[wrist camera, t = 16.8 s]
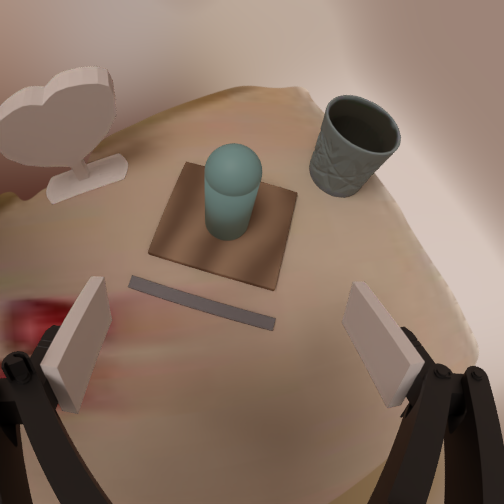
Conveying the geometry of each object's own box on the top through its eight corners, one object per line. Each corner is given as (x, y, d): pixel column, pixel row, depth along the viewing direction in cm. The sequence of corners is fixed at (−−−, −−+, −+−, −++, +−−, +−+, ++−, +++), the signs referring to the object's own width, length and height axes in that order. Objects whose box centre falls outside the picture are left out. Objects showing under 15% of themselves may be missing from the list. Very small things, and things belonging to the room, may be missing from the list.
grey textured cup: (375, 191, 46) (414, 146, 35) (324, 211, 43) (358, 162, 32) (341, 142, 48) (369, 91, 37) (290, 156, 46) (311, 99, 35)
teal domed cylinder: (199, 233, 39) (195, 171, 26) (212, 196, 41) (215, 126, 28) (242, 245, 39) (258, 188, 26) (253, 207, 41) (272, 140, 28)
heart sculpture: (131, 149, 43) (107, 53, 26) (137, 174, 42) (109, 77, 25) (40, 181, 39) (-13, 103, 23) (41, 208, 38) (-21, 132, 21)
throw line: (128, 287, 36) (127, 286, 36) (132, 276, 37) (132, 275, 36) (272, 330, 37) (272, 330, 36) (275, 318, 37) (275, 318, 37)
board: (148, 254, 38) (147, 252, 37) (186, 164, 43) (186, 161, 42) (273, 291, 38) (274, 289, 38) (295, 195, 43) (297, 192, 43)
